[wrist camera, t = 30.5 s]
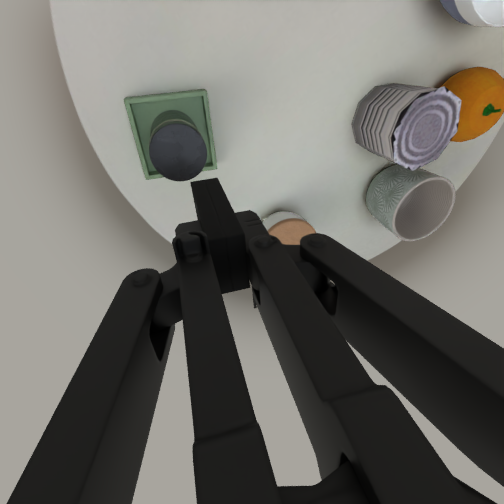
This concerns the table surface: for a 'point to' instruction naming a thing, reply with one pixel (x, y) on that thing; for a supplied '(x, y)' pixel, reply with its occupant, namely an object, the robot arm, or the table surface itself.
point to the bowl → (476, 12)
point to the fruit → (477, 101)
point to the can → (407, 123)
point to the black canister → (176, 146)
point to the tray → (151, 106)
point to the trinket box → (287, 227)
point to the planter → (410, 201)
